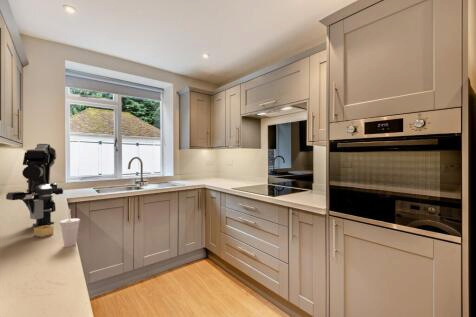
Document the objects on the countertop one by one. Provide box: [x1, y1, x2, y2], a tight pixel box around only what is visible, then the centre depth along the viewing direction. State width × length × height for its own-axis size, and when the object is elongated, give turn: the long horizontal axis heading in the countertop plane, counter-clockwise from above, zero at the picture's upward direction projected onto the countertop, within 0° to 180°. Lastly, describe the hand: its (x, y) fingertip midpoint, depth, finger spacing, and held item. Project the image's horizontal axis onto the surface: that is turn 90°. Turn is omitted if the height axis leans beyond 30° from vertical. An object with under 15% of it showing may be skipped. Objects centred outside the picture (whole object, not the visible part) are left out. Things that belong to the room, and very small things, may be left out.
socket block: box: [33, 224, 54, 239], centre depth 100 cm, size 5×5×4 cm
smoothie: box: [59, 208, 81, 248], centre depth 89 cm, size 6×6×14 cm
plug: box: [29, 200, 43, 220], centre depth 102 cm, size 4×3×8 cm
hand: (36, 212), depth 102 cm, fingers closed on plug, 3 cm apart
